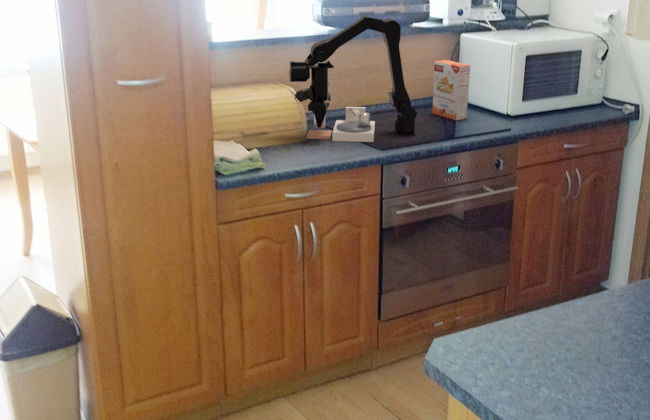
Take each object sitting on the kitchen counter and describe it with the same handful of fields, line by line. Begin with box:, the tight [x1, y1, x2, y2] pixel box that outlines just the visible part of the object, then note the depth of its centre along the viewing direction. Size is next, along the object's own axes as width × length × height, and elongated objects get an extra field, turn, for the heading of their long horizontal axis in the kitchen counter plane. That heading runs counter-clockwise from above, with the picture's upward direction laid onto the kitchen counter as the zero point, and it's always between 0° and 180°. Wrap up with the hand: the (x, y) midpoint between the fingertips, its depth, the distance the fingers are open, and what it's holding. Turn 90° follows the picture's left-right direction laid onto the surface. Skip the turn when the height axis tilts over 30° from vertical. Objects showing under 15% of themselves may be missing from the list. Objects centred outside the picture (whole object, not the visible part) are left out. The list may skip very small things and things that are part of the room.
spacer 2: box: [358, 112, 371, 128], centre depth 256 cm, size 4×4×4 cm
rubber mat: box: [306, 129, 333, 140], centre depth 259 cm, size 8×8×1 cm
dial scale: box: [331, 106, 376, 143], centre depth 259 cm, size 14×18×8 cm
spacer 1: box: [313, 114, 326, 130], centre depth 257 cm, size 4×4×4 cm
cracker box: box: [431, 59, 471, 122], centre depth 282 cm, size 14×6×21 cm, turn 32°
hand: (319, 125), depth 258 cm, fingers closed on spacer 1, 4 cm apart
